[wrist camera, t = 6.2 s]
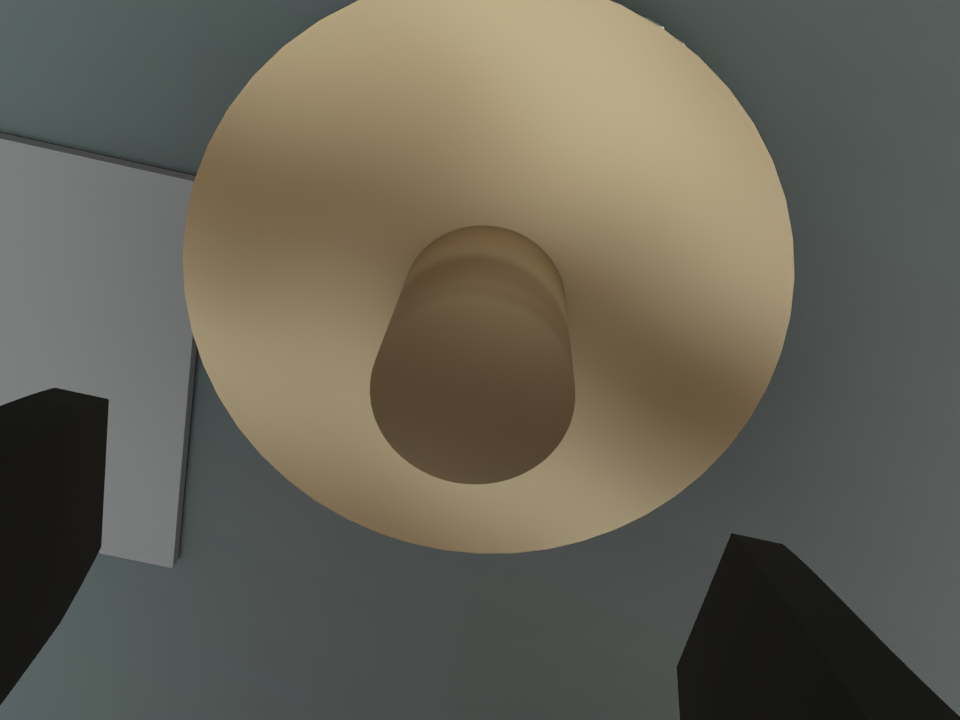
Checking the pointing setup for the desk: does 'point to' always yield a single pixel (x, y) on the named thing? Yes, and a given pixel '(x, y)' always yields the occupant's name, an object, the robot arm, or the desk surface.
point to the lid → (488, 268)
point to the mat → (103, 320)
